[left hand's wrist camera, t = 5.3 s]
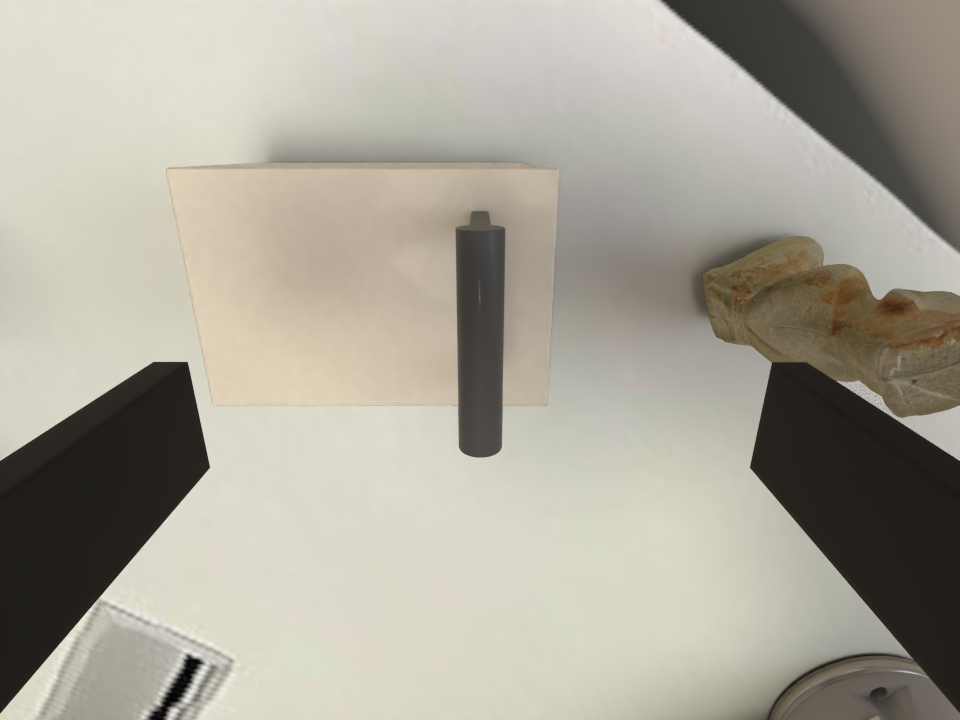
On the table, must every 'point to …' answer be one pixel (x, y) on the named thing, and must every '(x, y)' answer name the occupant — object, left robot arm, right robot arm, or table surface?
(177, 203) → the lid
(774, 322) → the sculpture
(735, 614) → the table surface
